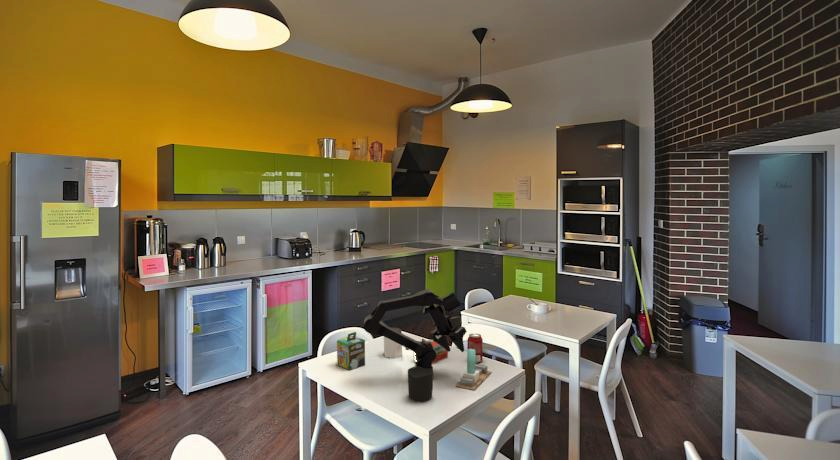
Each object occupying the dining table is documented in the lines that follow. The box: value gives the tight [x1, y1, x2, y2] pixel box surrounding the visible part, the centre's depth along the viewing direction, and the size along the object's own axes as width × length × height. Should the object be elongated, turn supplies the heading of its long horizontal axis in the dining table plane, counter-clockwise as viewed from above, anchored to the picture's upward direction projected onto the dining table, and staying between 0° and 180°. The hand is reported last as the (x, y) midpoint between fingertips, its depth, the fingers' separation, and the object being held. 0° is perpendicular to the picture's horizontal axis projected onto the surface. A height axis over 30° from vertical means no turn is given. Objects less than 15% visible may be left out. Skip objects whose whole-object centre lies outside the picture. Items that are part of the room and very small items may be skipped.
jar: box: [383, 327, 403, 359], centre depth 210 cm, size 9×8×12 cm
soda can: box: [466, 333, 484, 364], centre depth 202 cm, size 7×7×12 cm
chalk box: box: [336, 331, 366, 371], centre depth 197 cm, size 9×9×15 cm
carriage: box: [462, 349, 479, 383], centre depth 178 cm, size 5×5×12 cm
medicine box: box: [426, 338, 449, 364], centre depth 204 cm, size 15×8×8 cm, turn 137°
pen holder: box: [407, 366, 434, 403], centre depth 165 cm, size 9×9×10 cm
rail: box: [454, 363, 493, 391], centre depth 181 cm, size 20×8×3 cm, turn 152°
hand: (456, 351), depth 183 cm, fingers open, 9 cm apart
